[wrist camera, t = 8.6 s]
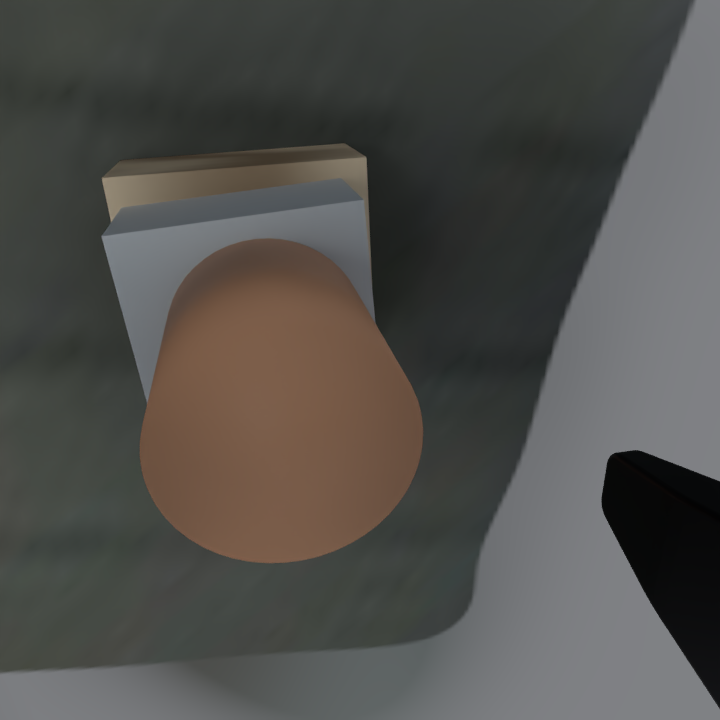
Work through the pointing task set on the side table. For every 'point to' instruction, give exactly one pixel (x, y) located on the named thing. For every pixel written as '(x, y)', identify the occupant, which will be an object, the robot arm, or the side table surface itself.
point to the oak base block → (232, 174)
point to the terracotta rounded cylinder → (276, 408)
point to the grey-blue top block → (220, 229)
